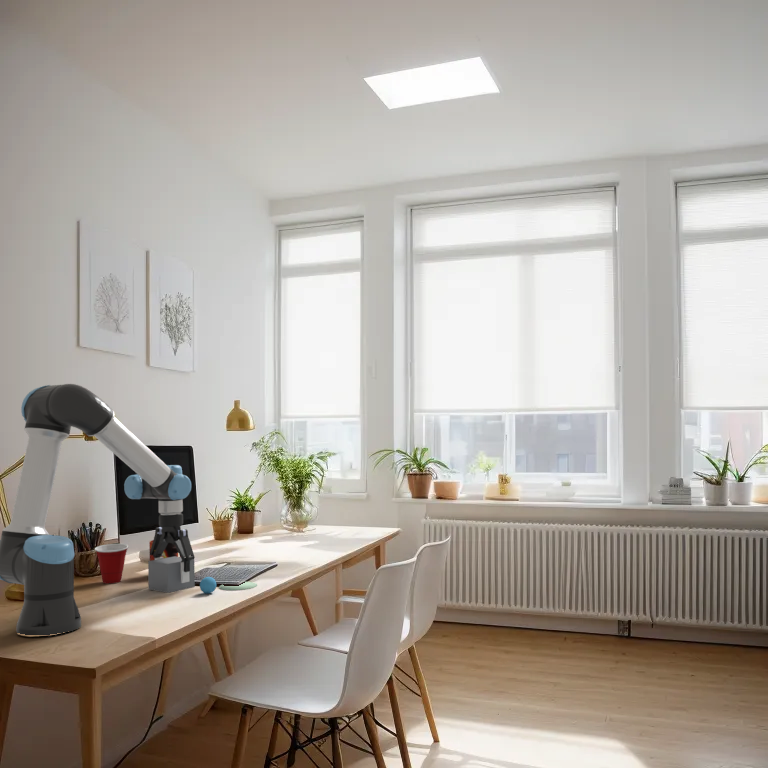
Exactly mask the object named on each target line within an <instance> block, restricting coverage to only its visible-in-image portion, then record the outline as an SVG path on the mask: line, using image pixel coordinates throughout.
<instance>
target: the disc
mask: <svg viewBox="0 0 768 768" xmlns="http://www.w3.org/2000/svg"><path fill="white" fill-rule="evenodd" d="M244 582H245V583H243V584H241V585H239V586H224V585H223V584H221V585H219V586H218V589H220V590H223V591H243V590H249V589H254V588H257V586H258V583H256V582H252V581H244Z"/></svg>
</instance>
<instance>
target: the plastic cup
mask: <svg viewBox="0 0 768 768" xmlns="http://www.w3.org/2000/svg"><path fill="white" fill-rule="evenodd" d="M128 548H129V544H125V543H107V544H102V545H98V546H96V547H95V548H94V550H95V552H96V555H97V556H96V557H97V559H98V565H99V570H100V574H101V580H102V583H103V584H109V583H110V584H117V583H120V582H121V581H122V577H123V571H124V566H125V561H126V555H127V551H128Z"/></svg>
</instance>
